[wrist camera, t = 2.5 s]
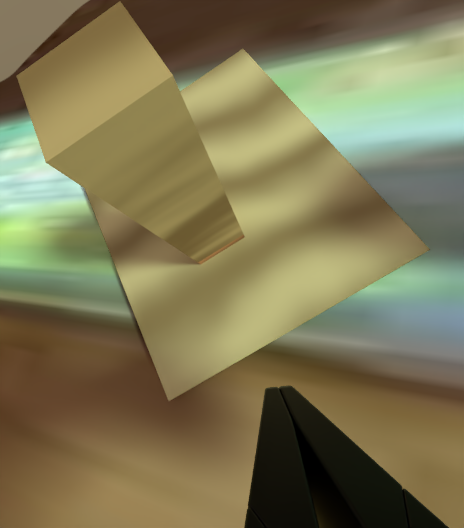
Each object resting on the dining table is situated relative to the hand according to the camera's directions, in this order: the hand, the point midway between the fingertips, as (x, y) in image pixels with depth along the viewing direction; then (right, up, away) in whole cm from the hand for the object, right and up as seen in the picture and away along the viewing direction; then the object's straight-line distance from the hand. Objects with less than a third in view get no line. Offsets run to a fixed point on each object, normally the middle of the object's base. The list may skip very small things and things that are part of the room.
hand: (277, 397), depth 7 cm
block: (-3, +7, +11) cm, 13 cm away
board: (-3, +10, +12) cm, 16 cm away
